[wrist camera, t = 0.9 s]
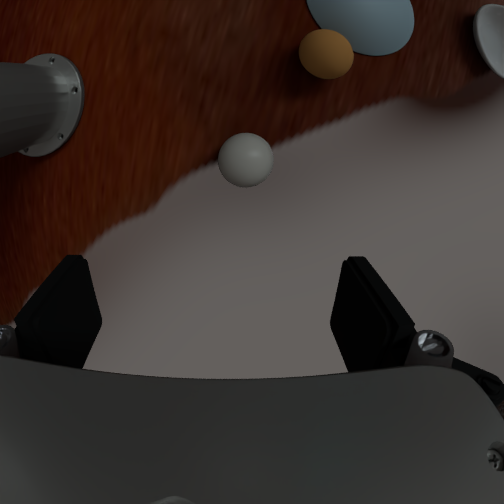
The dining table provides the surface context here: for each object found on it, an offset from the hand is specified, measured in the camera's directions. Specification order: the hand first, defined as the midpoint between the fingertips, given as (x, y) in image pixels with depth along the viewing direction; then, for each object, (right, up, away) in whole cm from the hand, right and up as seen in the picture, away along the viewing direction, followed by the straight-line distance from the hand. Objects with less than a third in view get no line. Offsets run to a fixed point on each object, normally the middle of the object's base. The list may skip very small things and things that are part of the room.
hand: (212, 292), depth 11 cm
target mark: (+14, +30, +13) cm, 36 cm away
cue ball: (+1, +11, +19) cm, 22 cm away
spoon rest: (+41, +36, +13) cm, 56 cm away
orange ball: (+9, +21, +14) cm, 27 cm away
